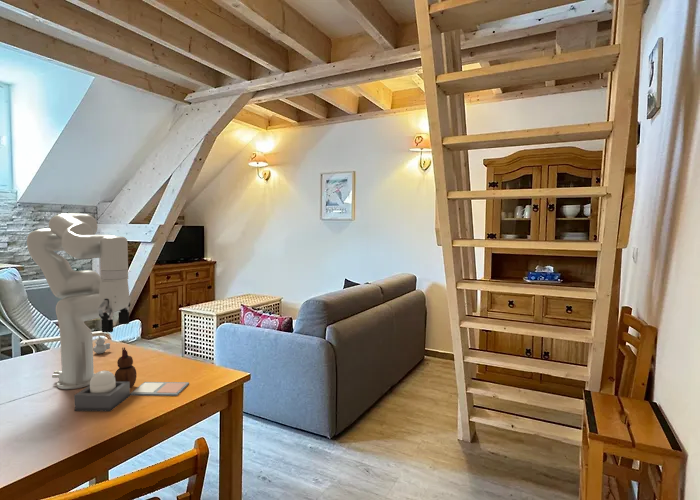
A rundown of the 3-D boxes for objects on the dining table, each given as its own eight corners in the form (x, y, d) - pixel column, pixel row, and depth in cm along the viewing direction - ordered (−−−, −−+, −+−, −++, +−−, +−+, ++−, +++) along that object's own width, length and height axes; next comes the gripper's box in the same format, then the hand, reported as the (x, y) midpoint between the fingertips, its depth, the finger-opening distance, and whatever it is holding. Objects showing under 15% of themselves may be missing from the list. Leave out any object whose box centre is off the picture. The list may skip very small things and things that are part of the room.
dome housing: (74, 410, 125) (74, 395, 125) (97, 395, 136) (96, 381, 136) (110, 411, 125) (109, 395, 124) (130, 396, 136) (129, 381, 135)
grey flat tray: (129, 395, 136) (129, 393, 136) (144, 383, 146) (144, 381, 146) (176, 395, 136) (176, 393, 136) (189, 384, 146) (188, 382, 146)
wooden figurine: (126, 392, 138) (124, 349, 137) (111, 391, 140) (110, 348, 138) (140, 384, 145) (138, 343, 144) (126, 383, 146) (124, 342, 145)
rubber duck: (92, 352, 179) (91, 335, 179) (109, 349, 184) (108, 332, 183) (94, 355, 175) (93, 337, 175) (111, 352, 180) (111, 335, 179)
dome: (85, 397, 127) (84, 375, 126) (99, 387, 134) (98, 367, 133) (107, 397, 127) (106, 375, 126) (120, 388, 134) (119, 367, 133)
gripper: (117, 271, 138) (118, 320, 139) (86, 279, 121) (87, 335, 122) (139, 271, 138) (140, 321, 140) (111, 279, 121) (113, 335, 122)
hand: (116, 327), depth 131 cm, fingers open, 9 cm apart
